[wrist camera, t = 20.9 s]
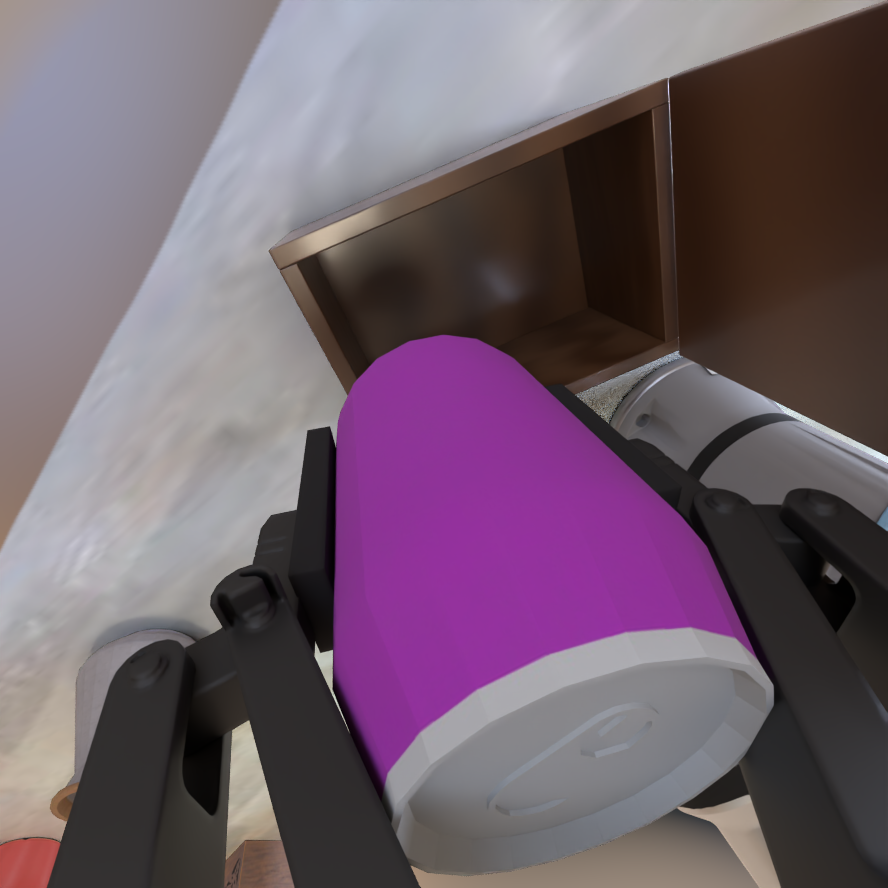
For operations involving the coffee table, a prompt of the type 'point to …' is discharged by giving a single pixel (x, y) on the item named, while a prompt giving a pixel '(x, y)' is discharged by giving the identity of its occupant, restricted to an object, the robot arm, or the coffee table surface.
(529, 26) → the coffee table surface
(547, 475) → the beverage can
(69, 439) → the coffee table surface
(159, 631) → the coffee pot
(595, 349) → the chest
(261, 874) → the tissue box cover
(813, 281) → the lid
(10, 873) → the flower pot
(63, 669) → the coffee table surface
